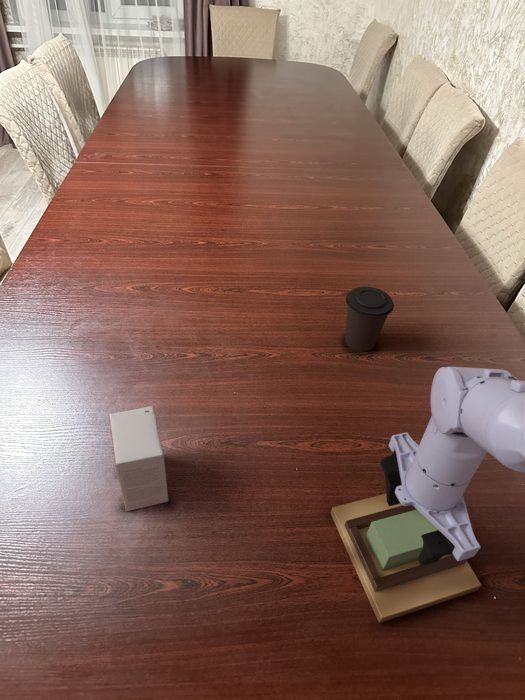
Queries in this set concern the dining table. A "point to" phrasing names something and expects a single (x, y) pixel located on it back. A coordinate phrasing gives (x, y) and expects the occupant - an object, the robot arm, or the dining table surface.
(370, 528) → the green rectangular block
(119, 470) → the small box
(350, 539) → the wooden base with frame
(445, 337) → the dining table surface
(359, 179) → the dining table surface
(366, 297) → the coffee cup
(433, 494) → the robot arm
